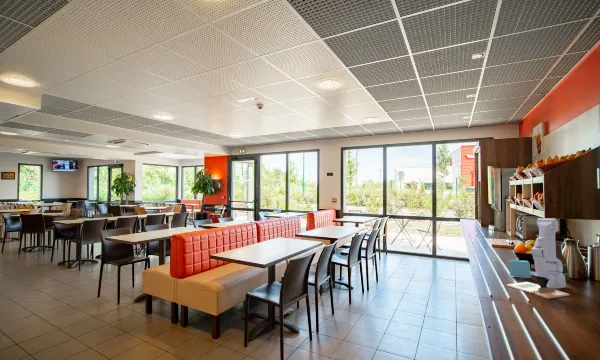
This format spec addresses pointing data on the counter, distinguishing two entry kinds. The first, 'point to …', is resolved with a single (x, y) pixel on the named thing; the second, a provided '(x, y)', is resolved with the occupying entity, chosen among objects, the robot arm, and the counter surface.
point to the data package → (519, 268)
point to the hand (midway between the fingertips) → (543, 289)
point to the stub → (550, 293)
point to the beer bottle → (563, 260)
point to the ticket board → (525, 287)
